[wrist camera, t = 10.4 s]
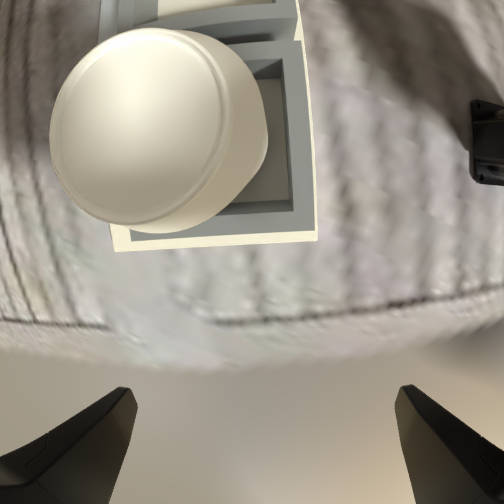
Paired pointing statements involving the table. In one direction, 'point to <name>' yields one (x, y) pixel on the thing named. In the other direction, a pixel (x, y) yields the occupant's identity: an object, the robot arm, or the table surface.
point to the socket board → (276, 113)
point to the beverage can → (157, 130)
